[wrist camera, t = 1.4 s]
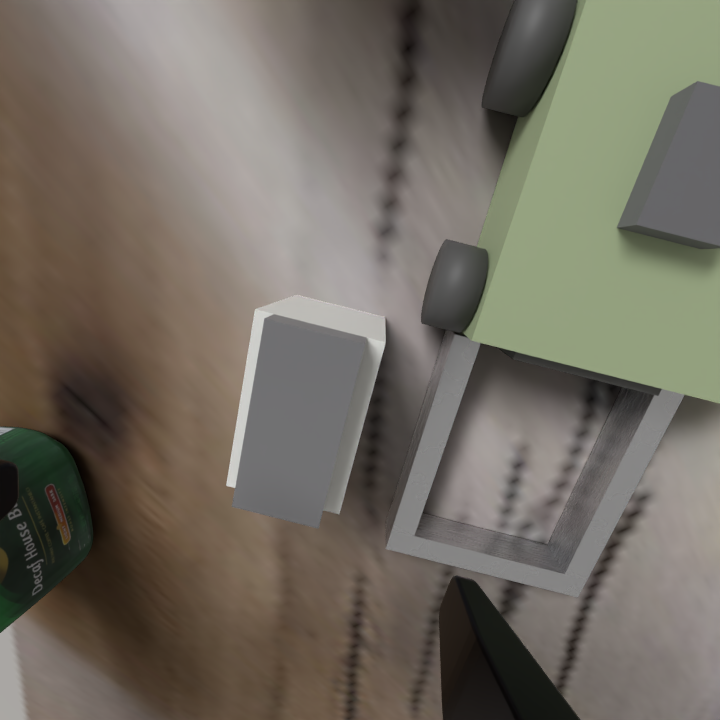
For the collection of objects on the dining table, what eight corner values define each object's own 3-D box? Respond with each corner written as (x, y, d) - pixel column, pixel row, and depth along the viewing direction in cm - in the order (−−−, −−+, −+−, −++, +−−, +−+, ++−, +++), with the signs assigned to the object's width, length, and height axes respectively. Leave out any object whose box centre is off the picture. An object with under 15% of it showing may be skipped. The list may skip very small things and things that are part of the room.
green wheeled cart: (829, 104, 14) (1054, 23, 10) (680, 390, 18) (791, 437, 13) (503, 21, 14) (564, -102, 9) (416, 322, 18) (428, 345, 13)
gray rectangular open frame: (652, 378, 18) (685, 392, 16) (559, 566, 21) (577, 597, 19) (447, 326, 18) (454, 334, 16) (385, 522, 21) (385, 549, 19)
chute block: (385, 316, 18) (386, 349, 11) (352, 440, 20) (336, 533, 13) (297, 294, 18) (243, 313, 11) (272, 420, 20) (214, 502, 13)
